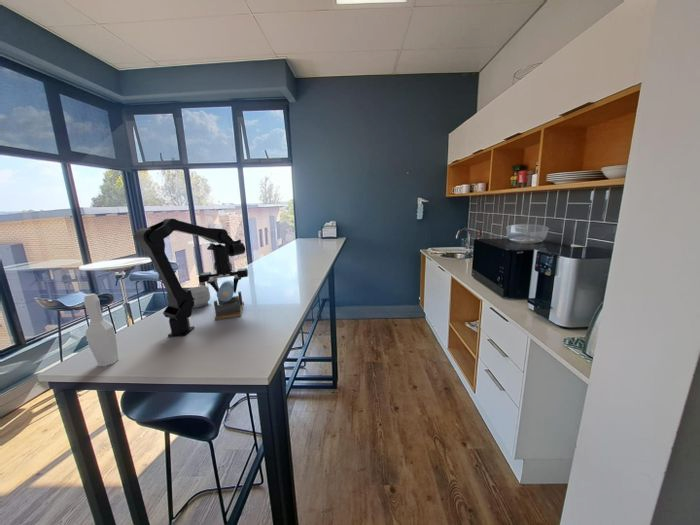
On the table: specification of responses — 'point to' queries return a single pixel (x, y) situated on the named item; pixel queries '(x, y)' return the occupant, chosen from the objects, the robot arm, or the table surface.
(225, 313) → the holder
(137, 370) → the table surface
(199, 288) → the teacup
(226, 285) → the roll
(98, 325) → the low poly bottle
